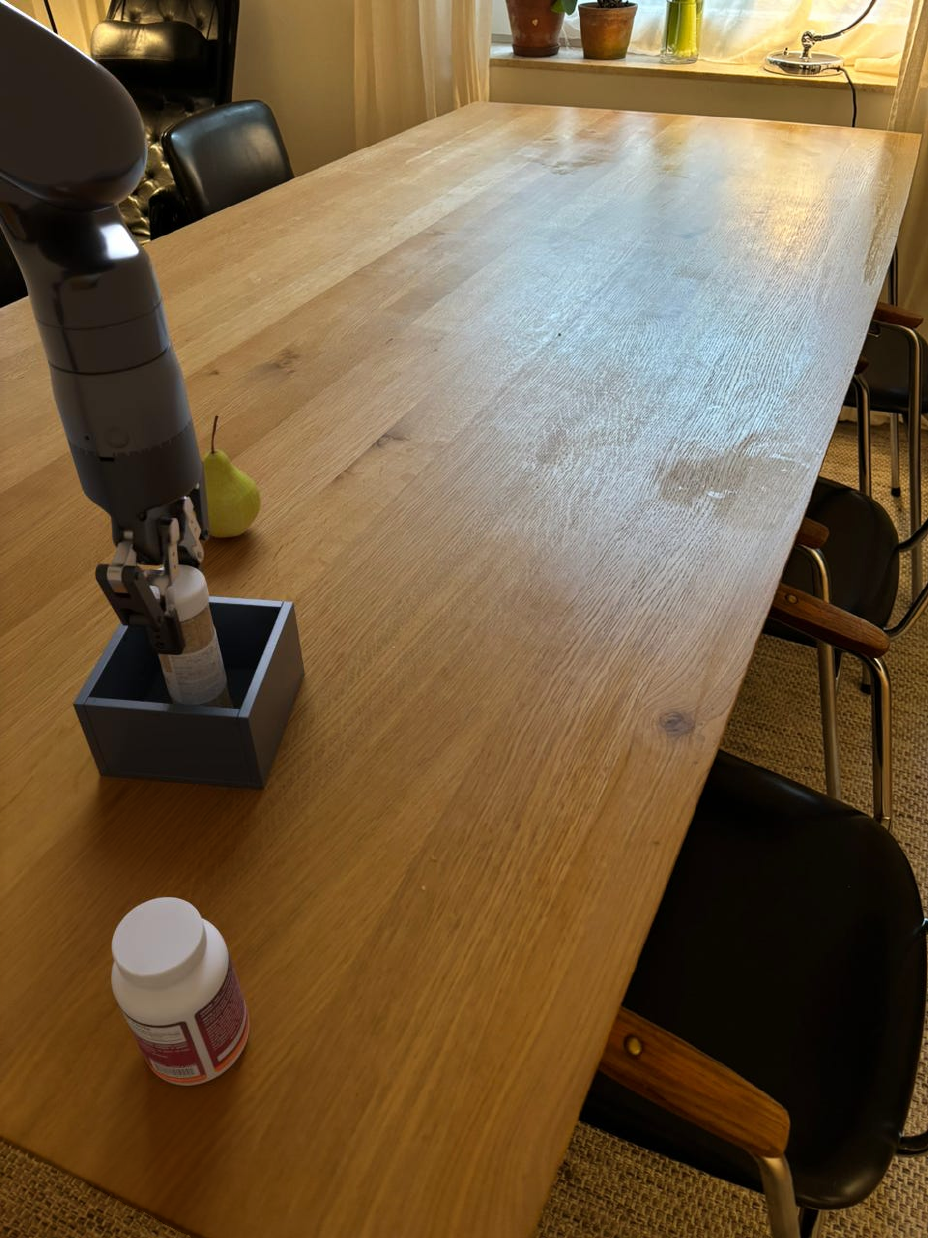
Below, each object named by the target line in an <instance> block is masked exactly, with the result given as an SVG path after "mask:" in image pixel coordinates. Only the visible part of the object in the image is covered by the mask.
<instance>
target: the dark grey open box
mask: <svg viewBox="0 0 928 1238" xmlns="http://www.w3.org/2000/svg"><path fill="white" fill-rule="evenodd" d="M209 609H210V613H211V617H212V622H213V625H214V627H215V630H216V635H217V639H218V644H219V648H220V652H221V657H222V661H223V665H224V670H225V674H226V679H227V682H226V684H227V689H228V693H229V697H230V699H231V701H232V703H233V707H234V709H229V708H217V707H204V706H192V705H179V704H173V701H172V698H171V696H170V694H169V691H168V688H167V684H166V680H165V677H164V673H163V670H162V666H161V662H160V659H159V655H158V653H155V652H154V651H153V650H152V648H151V644H150V641H149V637H148V634H147V631H146V627H145V626H124V625H122V623H121V621H120V622H119V624H118V626H117V627H116V629H115V632H114V633H113V634H112V636H111V638H110V640H109V641H108V643H107V644H106V647H104V650H103V652H101V654H100V657H99V658H98V660H97V661H96V664H95V665H94V667H93V669H92V670H91V672H90V674H89V675H88V677H87V679H86V680H85V682H84V684H83V685H82V687H81V689H80V691H79V692H78V694H77V696H76V698H75V699H74V701H73V703H72V706H73V708H74V711H75V714H76V716H77V719H78V722H79V724H80V727H81V729H82V732H83V734H84V737H85V740H86V743H87V746H88V748H89V750H90V753H91V755H92V757H93V758H92V759H93V761H94V764H95V766H96V769H97V771H98V774H99V776H105V777H114V778H115V777H116V778H127V779H137V780H147V781H148V780H151V781H162V782H174V783H184V784H193V785H195V784H196V785H205V786H218V787H219V786H220V787H230V788H239V789H241V788H242V789H253V790H265V787H266V785H267V781H268V779H269V776H270V773H271V770H272V767H273V764H274V761H275V758H276V755H277V754H278V750H279V747H280V744H281V741H282V738H283V735H284V732H285V730H286V727H287V723H288V722H289V718H290V715H291V713H292V710H293V707H294V704H295V701H296V698H297V696H298V692H299V689H300V686H301V684H302V680H303V678H304V675H305V665H304V659H303V654H302V653H303V652H302V647H301V641H300V634H299V629H298V621H297V617H296V615H297V614H296V610H295V609H296V608H295V604H294V601H284V600H275V599H274V600H273V599H272V600H271V599H257V598H242V597H230V596H229V597H228V596H212V595H209Z"/></svg>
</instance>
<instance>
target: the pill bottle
mask: <svg viewBox="0 0 928 1238" xmlns="http://www.w3.org/2000/svg"><path fill="white" fill-rule="evenodd" d="M111 954H112V958H113V963H112V964H113V965H112V968H111V975H110V977H111V980H110V981H111V982H110V983H111V989H112V992H113V996H114V998H115V1000H116V1003H117V1006H118V1007H119V1009H120V1011H121V1012H122V1015H123V1017H124V1019H125V1021H126V1023H127V1024H128V1026H129V1029H130V1031H131V1033H132V1036H133V1038H134V1039H135V1041H136V1043H137V1045H138V1048H139V1049H140V1051H141V1053H142V1055H143V1057H144V1060H145V1062H146V1063H147V1065H148V1066H149V1068H150V1070H152V1072H153V1073H154V1074H155V1075H156V1076H158V1077H159V1078H160V1079H162V1080H163V1081H165V1082H168V1083H170V1084H173V1085H177V1086H197V1085H201V1084H204V1083H207V1082H210V1081H212V1080H214V1079H216V1078H217V1077H219V1076H221V1075H222V1074H223V1073H224V1072H226V1071H227V1070H228V1069H230V1068H231V1066H233V1065H234V1063H235V1062H237V1060H238V1058H239V1057H240V1055H241V1054H242V1052H243V1051H244V1049H245V1046H246V1044H247V1041H248V1038H249V1034H250V1015H249V1010H248V1006H247V1003H246V1001H245V998H244V994H243V991H242V989H241V986H240V983H239V980H238V977H237V974H236V970H235V968H234V965H233V962H232V959H231V956H230V953H229V950H228V946H227V943H226V941H225V939H224V937H223V936H222V934H221V932H220V931H219V930H218V929H217V927H215V926H214V925H213V923H211V922H210V921H208V920H207V919H205V918H202V915H201V914H200V912H199V911H198V910H197V908H196V907H195V906H194V905H193V904H191V903H190V902H189V901H186V900H185V899H182V898H178V897H171V896H168V897H167V896H165V897H164V896H163V897H156V898H153V899H150V900H147V901H145V902H143V903H140V904H139V905H137V906H135V907H134V908H132V910H130V911H129V912H128V913H127V914H126V915H124V917H123V918H122V919H121V920H120V922H119V923H118V925H117V926H116V929H115V930H114V933H113V936H112V940H111Z"/></svg>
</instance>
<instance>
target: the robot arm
mask: <svg viewBox="0 0 928 1238" xmlns="http://www.w3.org/2000/svg"><path fill="white" fill-rule="evenodd" d="M148 154H149V143H148V135H147V130H146V126H145V123H144V120H143V117H142V115H141V112H140V110H139V107H138V106H137V104H136V103H135V101H134V99H133V97H132V96H131V94H130V93H129V91H128V90H127V89H126V88H125V86H124V85H123V84H122V83H121V82H120V80H119V79H118V78H117V77H116V76H115V75H114V74H112V73H111V72H110V71H109V70H108V69H107V68H105V67H104V66H103V65H102V64H100V63H99V62H98V61H97V60H95V59H93V58H92V57H91V56H90V55H88V54H86V53H85V52H84V51H83V50H81V49H79V48H78V47H77V46H75V45H74V44H72V43H71V42H70V41H68V40H66V39H65V38H63V37H62V36H60V35H59V34H58V33H56V32H54V31H53V30H51V29H50V28H48V27H47V26H46V25H44V24H42V23H41V22H39V21H37V20H36V19H34V18H33V17H31V16H29V15H28V14H27V13H25V12H23V11H21V10H20V9H18V8H17V7H16V6H14V5H12V4H10V3H9V2H8V1H6V0H0V228H1V231H2V233H3V235H4V237H5V239H6V241H7V243H8V245H9V247H10V249H11V251H12V253H13V256H14V258H15V260H16V262H17V265H18V267H19V269H20V272H21V275H22V277H23V280H24V281H25V286H26V289H27V295H28V298H29V303H30V307H31V311H32V314H33V317H34V321H35V324H36V327H37V331H38V333H39V337H40V341H41V344H42V347H43V351H44V354H45V357H46V361H47V364H48V369H49V375H50V382H51V389H52V395H53V397H54V402H55V404H56V409H57V411H58V414H59V417H60V421H61V424H62V427H63V430H64V434H65V437H66V440H67V444H68V447H69V450H70V454H71V457H72V460H73V463H74V466H75V470H76V473H77V477H78V479H79V483H80V487H81V489H82V491H83V494H84V495H85V496H86V497H87V499H88V500H90V501H91V503H93V504H95V505H97V506H98V507H99V508H101V509H102V510H103V511H105V512H106V513H107V514H108V515H109V517H110V524H111V538H112V543H113V545H114V547H115V548H116V549H115V552H114V555H113V557H112V559H111V562H110V563H98V564H97V565H96V567H95V571H94V577H95V581H96V582H97V584H98V586H99V587H100V589H101V591H102V593H103V594H104V596H105V598H106V600H107V601H108V602H109V605H110V606H111V608H112V609H113V612H114V613H115V614H116V616H117V618H118V620H119V621H120V622H121V623H122V625H124V626H145V627H146V631H147V634H148V637H149V641H150V644H151V648H152V650H153V651H154V652H155V653H158V654H166V655H181V654H182V652H183V650H184V648H185V641H184V637H183V633H182V629H181V625H180V621H179V618H178V614H177V610H176V609H175V602H174V591H173V583H175V582H176V581H177V580H178V579H179V566H178V565H188V566H192V567H194V568H196V569H198V570H199V571H200V572H201V573H202V574H203V575H204V571H203V568H202V567H203V566H202V562H203V560H204V556H205V552H204V547H203V545H202V541H209V538H210V536H211V535H210V528H209V517H208V506H207V496H206V485H205V474H204V465H203V460H202V458H201V453H200V449H199V444H198V438H197V433H196V430H195V424H194V421H193V415H192V410H191V407H190V406H191V405H190V402H189V398H188V392H187V388H186V387H187V386H186V382H185V378H184V374H183V371H182V367H181V364H180V362H179V360H178V359H179V358H178V357H177V355H176V351H175V349H174V345H173V341H172V338H171V333H170V329H169V323H168V320H167V319H168V318H167V315H166V309H165V304H164V300H163V295H162V292H161V286H160V283H159V279H158V276H157V272H156V269H155V266H154V264H153V262H152V259H151V257H150V255H149V253H148V252H147V251H146V249H145V248H144V247H143V246H142V244H141V243H140V242H139V241H138V240H137V238H136V237H135V236H134V234H133V233H132V232H131V231H130V229H129V227H128V226H127V224H126V222H125V220H124V218H123V214H122V212H121V209H120V206H119V204H120V203H122V202H123V201H125V200H127V198H128V197H129V196H131V194H132V193H133V192H134V191H135V190H136V189H137V187H138V186H139V185H140V182H141V180H142V178H143V176H144V174H145V170H146V167H147V162H148ZM192 510H194V511H195V513H196V518H195V516H194V513H193V511H192ZM140 565H141V566H153V567H159V566H162V565H163V567H164V570H157V569H156V568H155V569H154V568H143V567H141V566H140ZM150 586H156V587H158V589H159V592H160V599H156V597H155V596H154V594H153V592H152V590H151V588H150Z"/></svg>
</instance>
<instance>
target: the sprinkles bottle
mask: <svg viewBox="0 0 928 1238" xmlns="http://www.w3.org/2000/svg"><path fill="white" fill-rule="evenodd" d="M178 566H179V579H178V580H177V581H176V582H175V583H173V591H174V602H175V609H176V610H177V614H178V618H179V621H180V625H181V629H182V633H183V637H184V641H185V648H184V650H183V652H182V654H181V655H166V654H158V655H159V659H160V662H161V666H162V670H163V673H164V677H165V680H166V684H167V688H168V691H169V694H170V696H171V698H172V701H173V704H179V705H192V706H204V707H217V708H229V709H234V707H233V703H232V701H231V699H230V697H229V693H228V689H227V684H226V682H227V679H226V674H225V670H224V665H223V661H222V657H221V652H220V648H219V644H218V639H217V635H216V630H215V627H214V625H213V622H212V617H211V613H210V609H209V596H210V592H209V589H208V584H207V581H206V577H205V576H204V573H203V574H202V573H201V572H200V571H199V570H198V569H196V568H194V567H192V566H188V565H178ZM156 570H164V566H162V567H160V568H157V569H156ZM150 588H151V590H152V592H153V594H154V596H155V597H156V599H160V592H159V589H158V587H156V586H150Z"/></svg>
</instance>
